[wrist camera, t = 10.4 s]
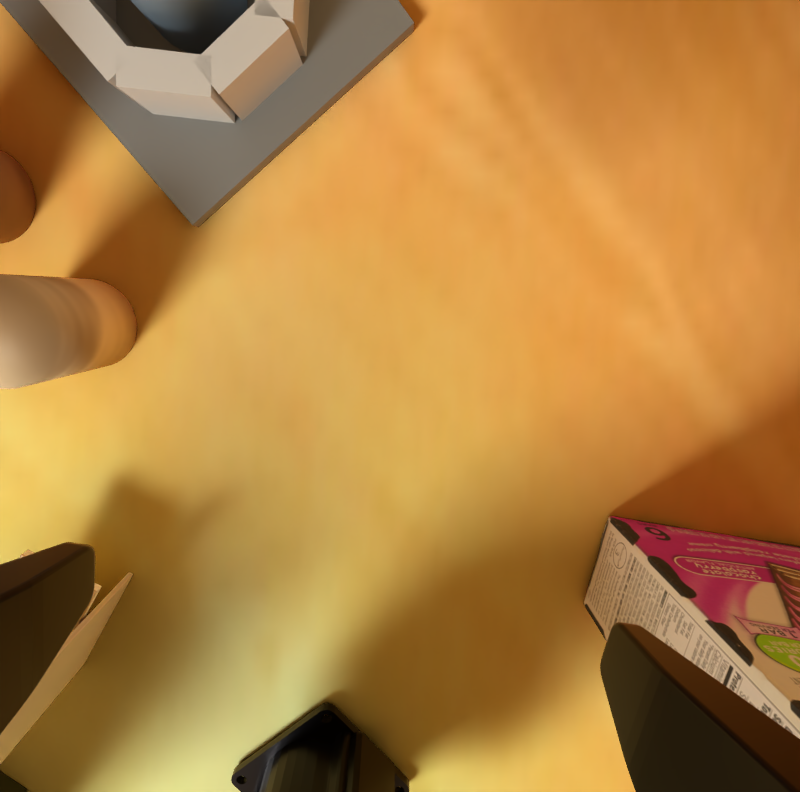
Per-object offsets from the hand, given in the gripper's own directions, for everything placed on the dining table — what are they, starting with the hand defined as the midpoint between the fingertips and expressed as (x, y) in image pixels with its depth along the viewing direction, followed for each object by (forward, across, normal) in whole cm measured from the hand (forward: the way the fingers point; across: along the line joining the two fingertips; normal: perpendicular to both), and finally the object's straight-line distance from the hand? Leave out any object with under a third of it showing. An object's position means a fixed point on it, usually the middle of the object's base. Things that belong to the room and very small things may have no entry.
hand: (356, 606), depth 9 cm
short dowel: (+13, +12, -1) cm, 18 cm away
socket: (+14, +9, -14) cm, 21 cm away
